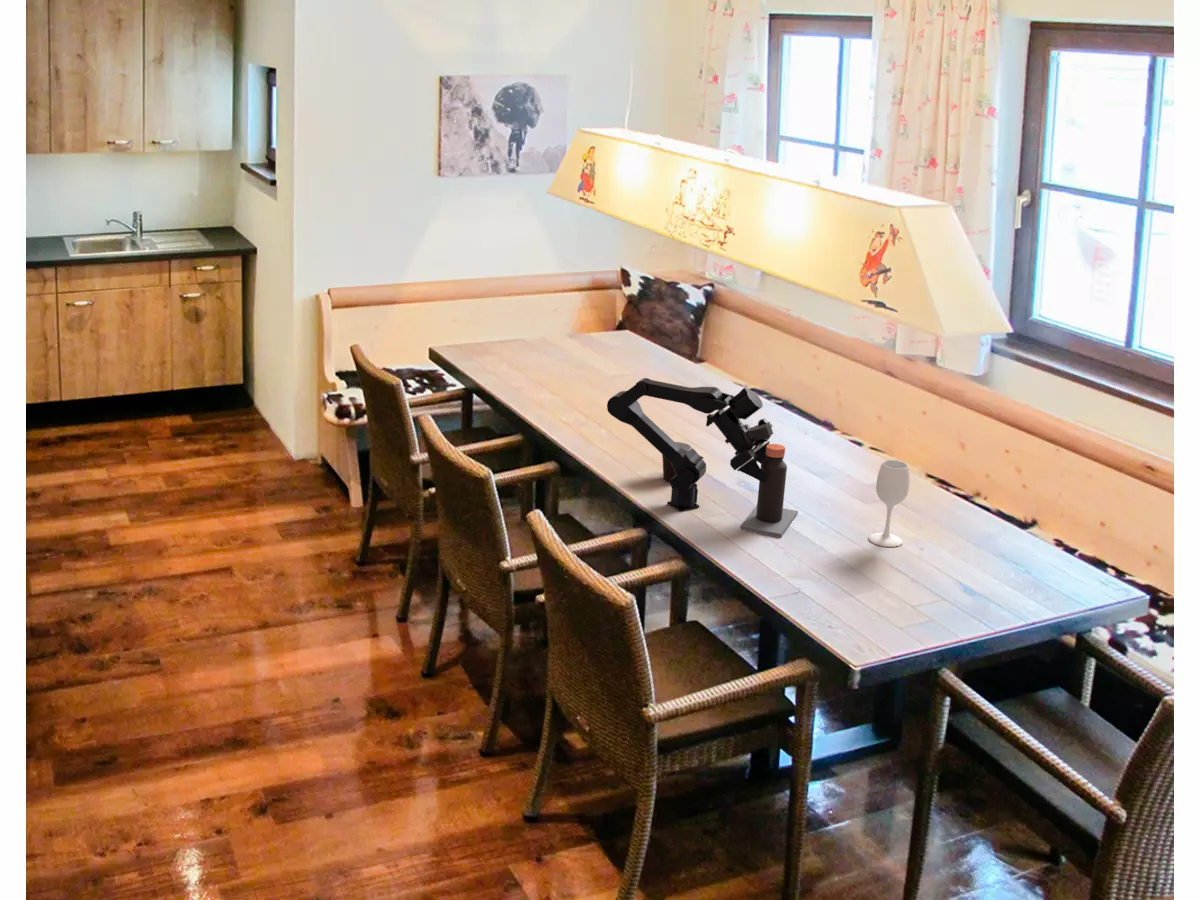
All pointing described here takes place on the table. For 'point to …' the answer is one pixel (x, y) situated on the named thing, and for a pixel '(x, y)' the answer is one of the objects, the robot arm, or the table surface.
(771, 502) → the vinegar
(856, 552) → the table surface
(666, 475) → the coffee mug
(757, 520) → the gray board
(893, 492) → the wineglass
